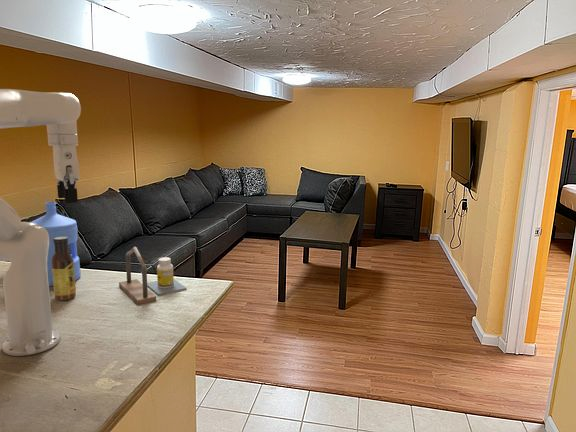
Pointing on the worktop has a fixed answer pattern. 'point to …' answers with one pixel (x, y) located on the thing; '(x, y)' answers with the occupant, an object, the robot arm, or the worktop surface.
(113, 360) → the worktop surface
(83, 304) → the worktop surface
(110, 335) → the worktop surface
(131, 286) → the wire arch
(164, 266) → the supplement bottle
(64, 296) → the sauce bottle
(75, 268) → the water jug
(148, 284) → the mat
